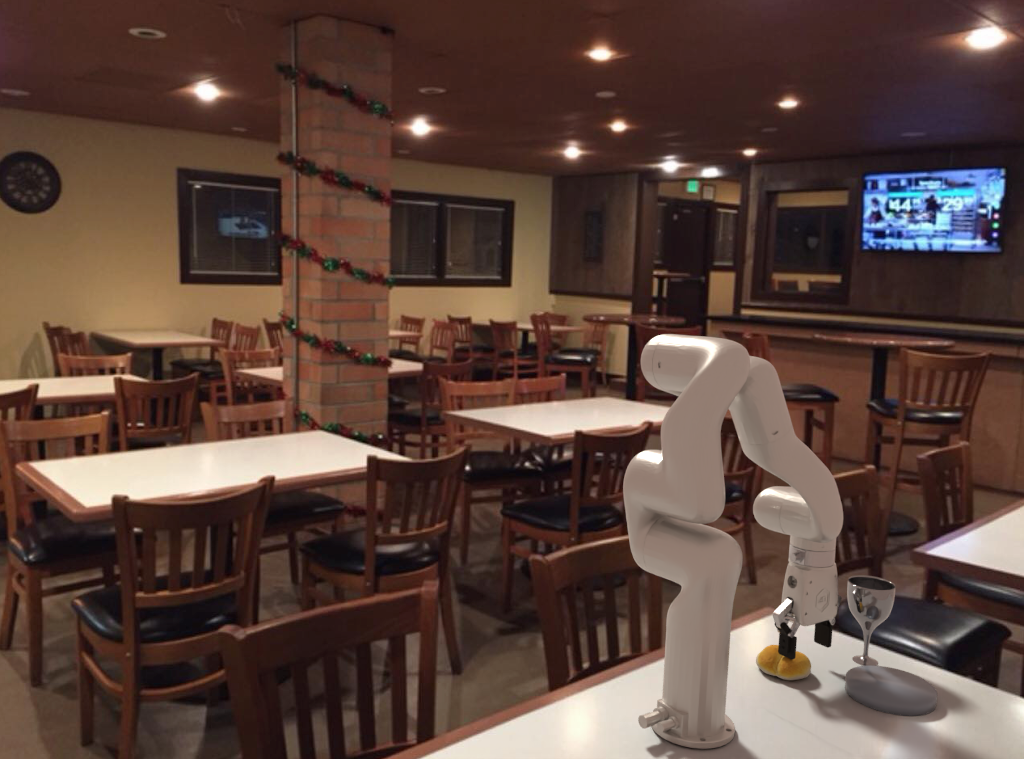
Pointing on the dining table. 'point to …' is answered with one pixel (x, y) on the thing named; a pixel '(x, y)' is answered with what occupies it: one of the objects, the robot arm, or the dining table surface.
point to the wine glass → (869, 607)
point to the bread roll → (783, 664)
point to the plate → (891, 690)
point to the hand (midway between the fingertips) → (804, 650)
